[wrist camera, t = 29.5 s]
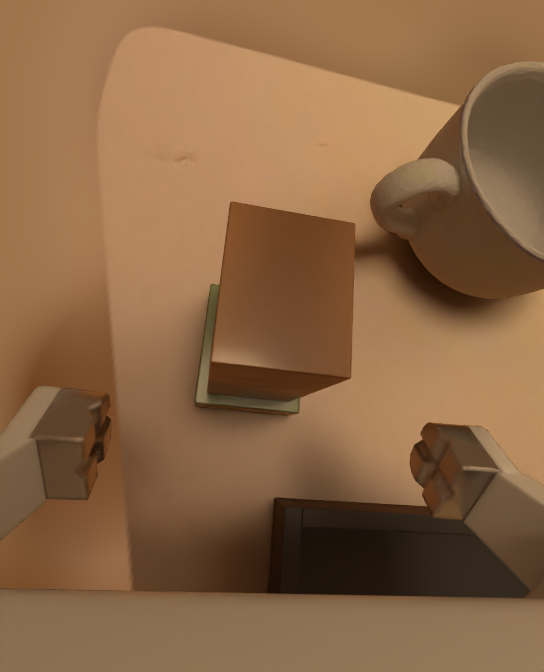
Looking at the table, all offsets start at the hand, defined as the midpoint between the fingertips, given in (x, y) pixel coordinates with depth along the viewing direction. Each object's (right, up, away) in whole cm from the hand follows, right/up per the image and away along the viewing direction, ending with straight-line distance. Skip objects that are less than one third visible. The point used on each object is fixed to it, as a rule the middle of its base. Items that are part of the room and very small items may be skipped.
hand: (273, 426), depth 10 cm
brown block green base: (-1, +1, +11) cm, 11 cm away
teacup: (+11, +9, +15) cm, 20 cm away
